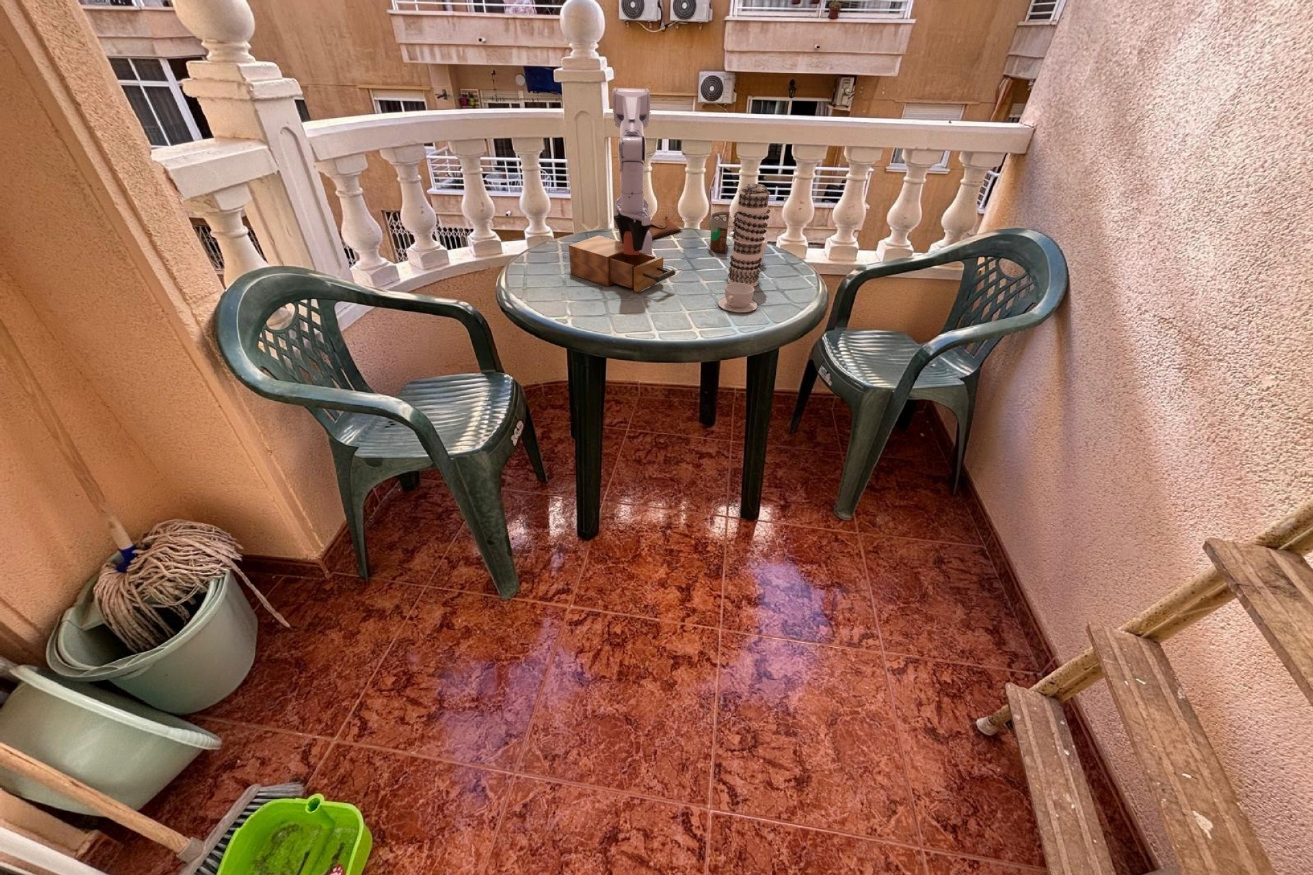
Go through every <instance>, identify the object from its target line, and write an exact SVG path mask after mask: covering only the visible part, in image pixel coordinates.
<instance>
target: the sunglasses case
mask: <svg viewBox="0 0 1313 875" xmlns="http://www.w3.org/2000/svg"><path fill="white" fill-rule="evenodd" d="M650 223H651V227H650V228H649V232H650V233H651V236H652V240H655V239H659V238H662V237H666V236H670V235H673V234H676V233H678V232H681V231H682V230H683V229H682V228H680V227H679V226H677V225H676V224H675V223H674V222H673V221H672V220H670V219H669V217H668V216H664V217H661V218H657V219H652V220H650Z"/></svg>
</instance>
